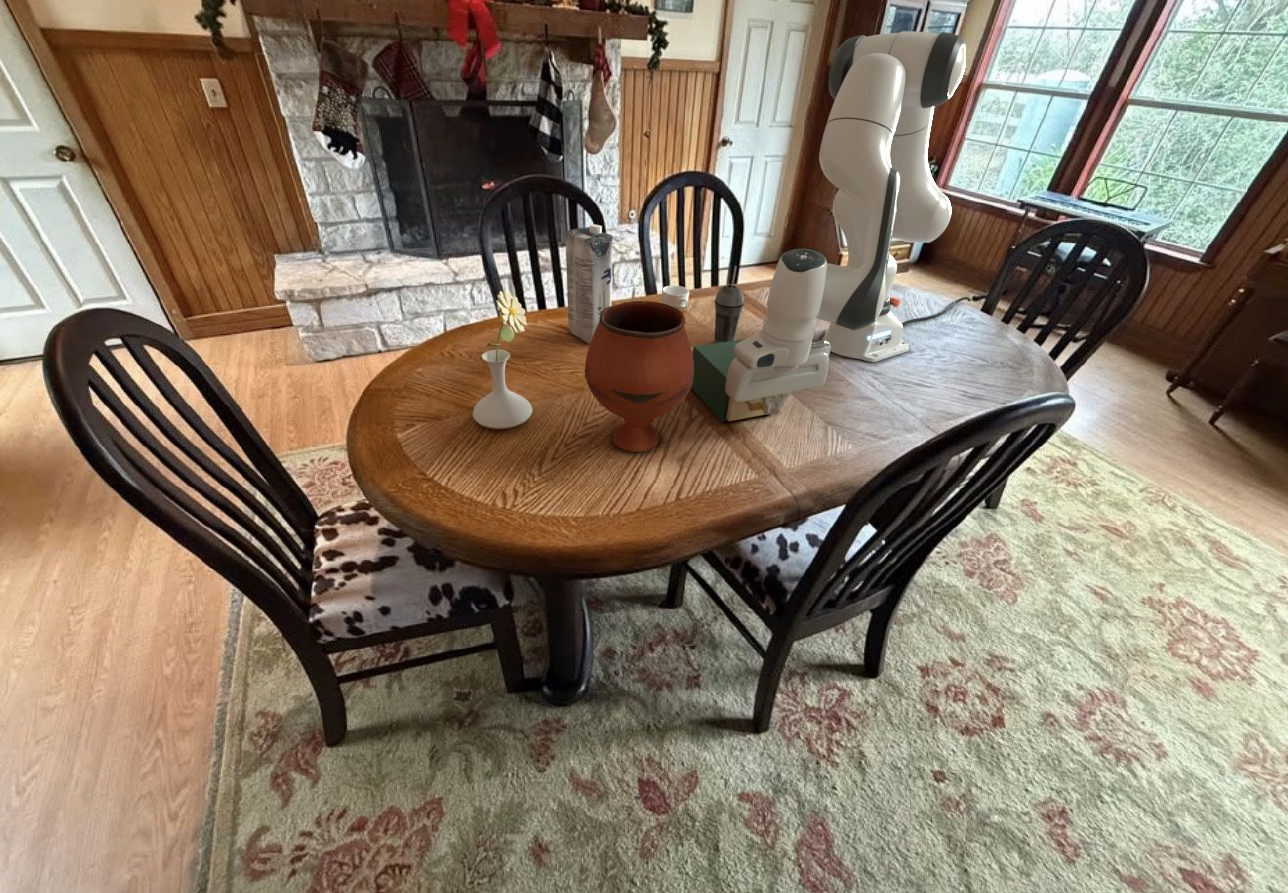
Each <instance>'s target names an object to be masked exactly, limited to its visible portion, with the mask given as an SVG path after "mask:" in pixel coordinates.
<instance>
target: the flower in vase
mask: <svg viewBox="0 0 1288 893" xmlns="http://www.w3.org/2000/svg"><path fill="white" fill-rule="evenodd" d="M498 293H499V294H497V299H496V304H497V305H496V309H497V311H498V315H499V316H500V317H501V323H500V326H499V332H498V338H497V343H496V344H495V343H491V342H488V343H487V345H486V348H495V349H490V350H487V351H485V352H484V353H482V355H481V359H482V361H484V362H485V363H486V364H487V366H488V367H489V371H490V374H491V377H492V378H491V379H492V384H493V385H492V390H491V391H490V392H489V393H488V394H486V395H485V396H483V397H482V398H481V399H480V400H479V401H478V402H476V404H475V405H474V407H473V410H472V418H473V419H474V421H476V423H478V424H479V425H480V426H482V427H485V428H487V429H492V430H506V429H512V428H515V427H519V426H521V425H523V424H524V423H526V422H527V421H528V420H529V419H530V417H531V415H532V414H533V407H532V404H531V403H530V402H529V400H528V399H526V398H525V397H524V396H522V395H521V394H518V393H516V392H514V391H512V390H510V389H509V388H508V387H507V384H506V376H505V375H506V374H505V372H506V364H507V361H508V360H509V358H510V357H511V354H510V352H509V351H507V350H504V349H499V348H500V346H502V344H500V341H501V339H502V340H503V341H505V342H507V343H510V342H512V341H513V339H514V337H515V333H517V334H519V333H522V332H523V333H524V332H525V327H524V326H528V322H527V317H526V316H525V315H526V309H524V308H523V307H522V306H523V305H522V304H521V303H520V302H519V299H518V297H517V296H512V294H511V292H510V291H509V290H503V291H502V290H500V291H499V292H498ZM503 326H506V327H504V328H503Z"/></svg>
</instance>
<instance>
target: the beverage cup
mask: <svg viewBox="0 0 1288 893" xmlns="http://www.w3.org/2000/svg"><path fill="white" fill-rule="evenodd" d="M737 268H738V266H737V265H734V268H733V274H732V279H731V284H726V285H723V286H722V287H721V288H720V289H719V290H718V292H717V293H716V295H715V299H714V309H715V316H714V317H715V319H714V343H721V342H728V341H735V337H736V334H737V331H738V325H739V322H740V317H741V313H742V312H743V309H744V306H745V296H744V292H743V290H742V289H741V288H740V287H739V286H737V285H735V279H736V273H737Z"/></svg>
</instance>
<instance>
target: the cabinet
mask: <svg viewBox="0 0 1288 893" xmlns="http://www.w3.org/2000/svg"><path fill="white" fill-rule="evenodd" d="M745 339H746V338H744V339H743V338H742V339H737V340H734V341H728V342H721V343H715V342H714V343H708V344H699V345H694V346H693V348H692V356H693V361H694V377H693V383H692V386H691V389H692V390H693V391H694V392H695V393H696V394H697V396H698V397H699V398H700V399H701V400H702V401H703V402H704V403H705V405H707V407H708V408H709V409H710V410H711V411H712V412H713V413H714V414H715V416H717V418H718V419H719V420H720V422H723V423H724V422H729V421H728V420H727V419H726V416H727V409H728V403H729V396H728V395H727V393H726V391H725V385H726V379H727V374H728V370H729V367H730V364H731V362H732V361H733V359H734V358H736V357H737V356H736V354H735V353H734V347H735V345H736V344H737V343H739V342H741V341H743V340H745Z"/></svg>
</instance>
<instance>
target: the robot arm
mask: <svg viewBox="0 0 1288 893" xmlns="http://www.w3.org/2000/svg"><path fill="white" fill-rule="evenodd" d="M966 48H967V47H966V43H965V42H964V40H963V38H962V36H960V35H958V34H956V33H952V32H947V31H941V32H940V33H936V32H935V33H934V32H926V31H911V30H910V31H908V30H905V31H904V30H902V31H900V32H890V33H881V34H880V33H879V34H873V35H869V36H866V35H865V34H861V35H856V36H853V37H850V38H847V39H846V40H845V41H843V42H842V44H841V45H839V47H838V48H837V49H836V51H835V53H834V55H833V58H832V60H831V63H830V68H829V72H828V91H829V94H830V96H831V97H832V99H833V100H834V101H833V104H832V107H831V109H830V112H829V115H828V119H827V122H826V125H825V128H824V131H823V136H822V139H821V143H820V149H819V156H818V159H819V160H818V161H819V165H820V168H821V170H822V172H823V175H824V176H825V177H826V179H827V180H828V181H829V182H830V183H831V184H832V185H833V186H834V187H835V188H837V189H838V190H837V192H836V194H835V196H834V198H833V202H832V215H833V219H834V221H835V222H836V224H837V225H838V226H839V228H840V229H841V231H842V233H843V236H844V239H845V241H846V244H847V253H848V256H847V257H848V259H847V265H846V266H844V265H839V264H834V263H830V262H828V261H827V258H826V256H825V255H824V254H822V253H821V252H820V251H817V250H815V249H811V248H810V249H809V248H794V249H791V250H788V251H786V252H784V253H783V254H781V256H780V257H779V260H778V262H777V264H776V267H775V270H774V274H773V276H772V280H771V284H770V287H769V292H768V296H767V302H766V310H767V314H766V319H765V320H764V322H763V325H762V328H761V330H760V331H758V332H756V333H755V334H753V335H751V336H749V337H747V338H744V339H745V340H743V339H742V340H743V341H741V342H739V343H737V344H736V345H735V347H734V353H735V354H736V356H737V357H736V358H734V359H733V361H732V362H731V364H730V367H729V370H728V374H727V379H726V385H725V391H726V393H727V395H728V396H729V397H730V398H731V399H732V400H733V401H734V402H736V403H738V402H743V401H749V400H754V399H760V398H761V400H762V402H763V408H762V411H763V412H764V413H765V415H766V416H767V415H772V414H777V413H781V409H782V406H783V405H784V404H785V402H786V401H787V400H788V398H789V396H790V394H792V393H799V392H803V391H808V390H809V391H810V390H815V389H819V388H820V389H821V388H822V387H823V386H824V384H826V380H827V378H828V370H829V360H830V359H829V357H830V354H831V352H832V353H833V354H836V355H839V356H842V357H846V358H851V359H858V360H861V361H866V362H868V363H876V362H880V361H883V360H886V359H888V358H891V357H894V356H898V355H900V354H904V353H907V352H909V350H910V346H909V344H908V343H907V342H905V341H904V339H903V336H904V326H906V325H907V324H911V323H917V322H922V321H927V320H931V319H935V318H937V317H939V316H942V315H944V314H945V313H947V312H948V311H950V310H951V309H952V308H953V307H954V306H955V305H956V304H958V303H960V302H962V301H966V300H967V302H972V300H971V298H970V297H969V296H963V297H960V298H958V299H955V300H953V301H952V302H951V303H950V304H949V305H948V306H947V307H946V308H944V309H943V310H942V311H940V312H938V313H935V314H931V315H927V316H923V317H918V318H917V317H916V318H912V319H908V320H905V321H904V322H902V323H901V321H900V320H899V319H898V316H895V315H894V313H892V311H891V306H892V307H894V308H898V307H899V306H900V305H901V302H902V301H901V299H900V298H897V297H895V296H893V297H890V294H891V291H892V288H893V284H894V281H895V278H896V274H897V271H898V267H897V263H896V262H897V261H896V259H895V258H894V257H893V256H892V255H891V254H890V251H891V246H892V241H893V240H896V241H901V242H906V243H914V244H915V243H919V244H921V243H922V244H925V243H927V244H929V243H931V242H933V241H935V240H936V239H938V238H939V237H940V236H941V235H942V234H944V232H945V231H946V229H947V227H948V225H949V223H950V222H951V217H952V206H951V202H950V200H949V198H948V196H947V195H946V194H945V193H944V192H942V191H941V189H940V188H939V187H938V185H937V184H936V182H935V181H934V178H933V176H932V174H931V170H930V166H929V160H928V151H929V150H928V149H929V141H930V133H931V129H932V128H931V127H932V122H933V115H934V110H935V109H934V108H935V107H939V106H942V105H943V104H944V103H946V102H947V101H948V100H949V99H951V98H952V97H953V95H954V93H955V91H956V89H957V88H958V86H959V84H960V83H961V81H962V78H963V75H964V72H965V68H966V60H967V59H966V58H967V57H966V50H967V49H966ZM816 320H819V321H825V322H828V323H829V325H828V327H827V328H826V330H825V331H824V332H825V333H824V335H823V337H822V338H821V340H818V341H813V340H814V336H815V322H816ZM776 395H777V396H776ZM773 396H776V398H775V399H774V401H772V402H769V400H772V397H773ZM782 404H783V405H782ZM781 405H782V406H781Z"/></svg>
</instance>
